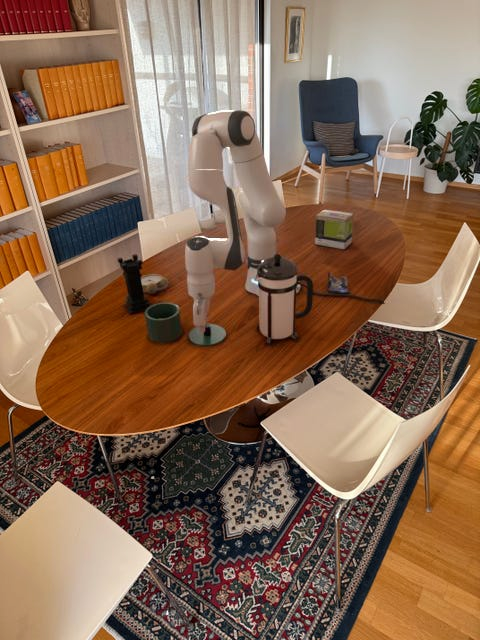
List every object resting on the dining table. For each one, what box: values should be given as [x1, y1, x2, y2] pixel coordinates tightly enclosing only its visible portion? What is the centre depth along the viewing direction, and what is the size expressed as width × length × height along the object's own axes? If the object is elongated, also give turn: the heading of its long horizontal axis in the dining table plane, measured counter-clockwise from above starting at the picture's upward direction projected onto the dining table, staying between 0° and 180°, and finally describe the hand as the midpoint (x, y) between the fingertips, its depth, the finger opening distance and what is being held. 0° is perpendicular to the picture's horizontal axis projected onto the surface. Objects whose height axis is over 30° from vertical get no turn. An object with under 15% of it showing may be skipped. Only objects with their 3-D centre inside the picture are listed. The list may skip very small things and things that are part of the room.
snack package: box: [326, 271, 350, 294], centre depth 185 cm, size 12×6×12 cm
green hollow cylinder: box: [144, 302, 183, 344], centre depth 161 cm, size 12×12×10 cm
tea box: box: [314, 209, 355, 250], centre depth 220 cm, size 15×10×15 cm
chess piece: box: [116, 253, 151, 315], centre depth 175 cm, size 8×8×20 cm
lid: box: [188, 323, 227, 347], centre depth 160 cm, size 13×13×5 cm
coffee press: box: [254, 253, 314, 346], centre depth 153 cm, size 17×16×30 cm
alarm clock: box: [141, 273, 169, 295], centre depth 192 cm, size 11×5×15 cm
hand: (204, 323), depth 158 cm, fingers open, 8 cm apart
